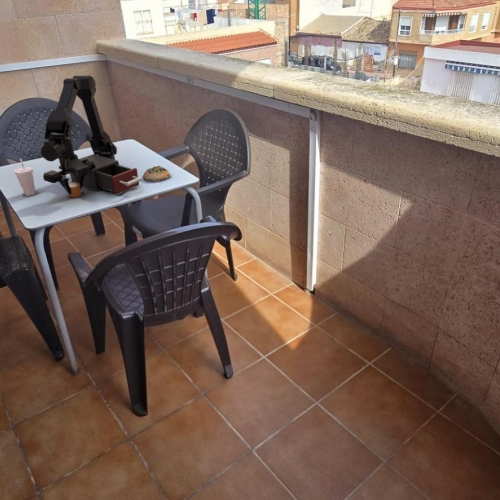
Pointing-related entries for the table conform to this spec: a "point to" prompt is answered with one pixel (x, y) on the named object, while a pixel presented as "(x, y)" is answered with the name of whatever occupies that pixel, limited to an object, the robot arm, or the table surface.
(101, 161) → the drawer box with handle
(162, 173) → the bread roll
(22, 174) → the smoothie
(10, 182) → the table surface
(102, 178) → the drawer
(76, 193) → the cylinder
